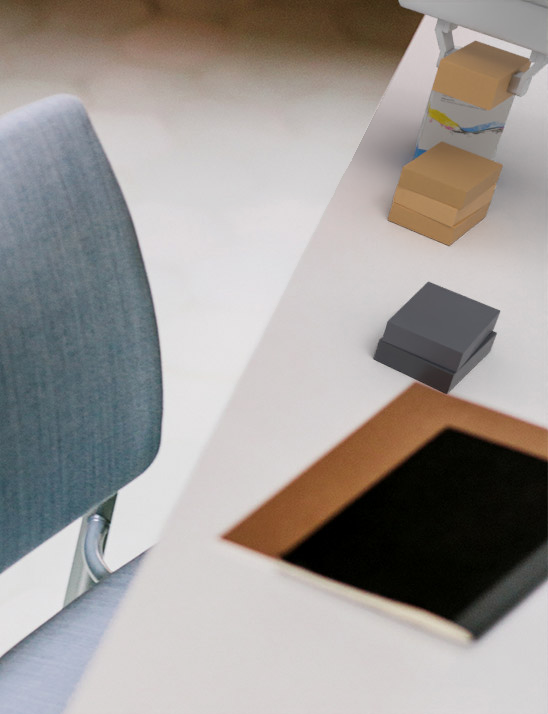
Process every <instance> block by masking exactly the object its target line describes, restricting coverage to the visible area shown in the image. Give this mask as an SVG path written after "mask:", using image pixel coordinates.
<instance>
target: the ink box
mask: <svg viewBox="0 0 548 714" xmlns="http://www.w3.org/2000/svg"><path fill="white" fill-rule="evenodd" d="M463 47H464V46H459V45H454V48H455V49H458V50H459V49H461V48H463ZM433 84H434V82H433ZM433 84H432V85H433ZM515 98H516V95H513V96H511V97H510V98H508V99H506V100H505V101H503V102H502V103H500V104H499V105H497V106H496V107H494V108H493V109H491V110H490V111H489V110H486V109H483V108H480V107H478V106H475V105H472V104H469V103H467V102H464V101H461V100H458V99H456V98H453V97H450V96H447V95H445V94H442V93H439V92H436V91H434V90H432V89H430V94H429V96H428V100H427V103H426V107H425V109H424V110H425V111H424V114H423V117H422V121H421V124H420V128H419V132H418V134H417V138H416V143H415V147H414V154H413V158H412V159H413V160H414V159H416V158H417V157H419V156H420V155H422V154H423V153H425V152H426V151H428V150H429V149H431V148H432V147H434V146H435V145H437V144H438V143H440V142H441V141H442V142H444V143H447V144H450V145H452V146H455V147H458V148H460V149H463V150H466V151H468V152H471V153H474V154H476V155H479V156H481V157H484V158H487V159H489V160H492V161H494V159H495V156H496V153H497V150H498V147H499V144H500V141H501V138H502V135H503V132H504V129H505V126H506V123H507V120H508V117H509V115H510V111H511V108H512V107H513V103H514V99H515Z"/></svg>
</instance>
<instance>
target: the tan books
mask: <svg viewBox="0 0 548 714" xmlns="http://www.w3.org/2000/svg"><path fill="white" fill-rule="evenodd" d="M413 159H414V158H413ZM503 167H504V164H502V163H500V162H498V161H494V160H493V161H492V160H489V159H487V158H484V157H481V156H479V155H476V154H474V153H471V152H468V151H466V150H463V149H460V148H458V147H455V146H452V145H450V144H447V143H444V142H442V141H441V142H440V143H438V144H437V145H435V146H434V147H432V148H431V149H429V150H428V151H426V152H425V153H423V154H422V155H420V156H419V157H417V158H416V159H414V160H411V161H410V162H407V164H405V165H403V166H402V168H401V172H400V175H399V178H398V182H397V185H396V187H395V191H394V195H393V199H392V204H391V208H390V211H389V214H388V217H387V221H389V222H390V223H394V224H396V225H398V226H400V227H402V228H405V229H408V230H410V231H412V232H415V233H418V234H420V235H422V236H424V237H427V238H429V239H432V240H434V241H437V242H439V243H442V244H444V245H446V246H449V247H450V246H451V245H452V244H453V243H455V242H456V241H457V240H459V239H460V238H461V237H463V235H465V234H466V233H468V232H469V231H470V230H471V229H472V228H474V227H475V226H476V225H478V223H480V222H481V221H483V219H485V218H486V217H487V214H488V210H489V208H490V205H491V202H492V199H493V197H494V194H495V191H496V188H497V184H498V181H499V179H500V176H501V173H502V170H503Z"/></svg>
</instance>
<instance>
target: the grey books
mask: <svg viewBox="0 0 548 714" xmlns="http://www.w3.org/2000/svg"><path fill="white" fill-rule="evenodd" d="M500 314H501V310H500V309H498V308H495V307H493V306H490V305H489V304H486V303H483V302H481V301H478V300H475V299H473V298H470V297H468V296H465V295H462V293H461V294H460V293H458V292H456V291H454V290H451V289H448V288H446V287H443V286H441V285H438V284H435V283H434V282H431V281H427V282H426V283H425V284H424V285H423V286H422V287H420V289H419V290H418V291H417V292H416V293H415V294H414V295H412V297H410V298H409V300H407V302H405V303H404V304H403V305H402V306H401V308H400V309H398V310H397V311H396V312H395V313H394V314H393V315H392V316H391V317H390V318H389V319H388V320H387V321H386V324H385V328H384V331H383V335H382V337H381V338H379V339H378V342H377V346H376V348H375V352H374V355H373V360H375V361H377V362H379V363H381V364H383V365H385V366H388V367H390V368H392V369H394V370H396V371H398V372H400V373H402V374H405V375H406V376H408V377H411V378H413V379H415V380H416V381H417V380H418V381H419V382H421V383H424V384H425V385H427V386H430V387H431V388H434V389H435V390H438V391H440V392H442V393H444V394H446V395H447V394H449V393H450V391H452V390H453V389H454V388H455V386H457V385H458V384H459V383H460V382H461V381H462V380H463V379H464V378H465V377H466V376H467V375H468V374H469V373H470V372H471V371H472V370H473V369H474V368H475V367H476V366H477V365H478V364H479V363H480V362H481V361H482V360H483V359H484V358H485V357H487V355H488V354H489V353H490V352H491V350H492V348H493V346H494V343H495V340H496V338H497V334H498V332H497V331H494V330H495V327H496V325H497V322H498V319H499V317H500Z"/></svg>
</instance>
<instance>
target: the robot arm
mask: <svg viewBox="0 0 548 714" xmlns="http://www.w3.org/2000/svg"><path fill="white" fill-rule="evenodd" d="M397 1H398V3H399V6H400V7H402V8H405V9H407V10H411V11H413V12H416V13H419V14H423V15H425V16H428V17H430V18H434V19H437V20H436V23H435V26H434V32H435V37H436V41H437V45H438V49H439V54H438V58H437V61H436V64H435V65H436V68H438V67H439V63H440V60H441V59H443V58H444V57H446V56H448V55H450V54H452V53H453V52H455V51H457V50H458V49H455V48H454V46H455V43H454V37H453V36H454V35H453V31H455V30H456V29H458V27H461V28H463V29H464V28H465V29H467V30H470V31H473V32H475V33H476V32H477V33H479V34H481V35H485V36H488V37H491V38H494V39H497V40H499V41H504V42H507V43H509V44H512V45H515V46H518V47H522V48H524V49H527V50H530V55H529V61H530V62H531V64H532V65H530V68H529V69H528V70H527V71H526V72H525V73H524V72H521V71H518V72H516V73H515V74H513V75H512V76H511V79H510V82H509V83H510V85H509V86H508V88H507V92H508V93H511V94H513V95H515V97H519V98H522V97H523V96H525V95H526V94H527V92H528V90H529V87H530V85H531V82H532V79H533V77H534V76H536V75H537V74H538V73H539V72H540V71H541V70H542V69H544V67H546V66H547V65H548V0H397Z"/></svg>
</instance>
